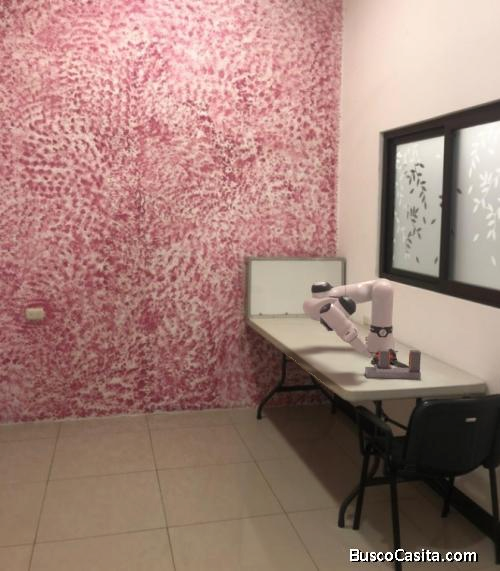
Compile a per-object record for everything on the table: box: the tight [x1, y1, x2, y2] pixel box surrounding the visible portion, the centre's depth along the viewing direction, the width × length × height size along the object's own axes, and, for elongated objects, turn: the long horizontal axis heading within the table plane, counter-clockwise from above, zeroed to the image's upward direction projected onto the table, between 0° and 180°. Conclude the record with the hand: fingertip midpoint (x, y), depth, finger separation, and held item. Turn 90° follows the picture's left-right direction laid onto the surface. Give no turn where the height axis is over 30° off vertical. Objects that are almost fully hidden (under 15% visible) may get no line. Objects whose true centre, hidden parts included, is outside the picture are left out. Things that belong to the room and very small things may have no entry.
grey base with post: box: [364, 349, 422, 380], centre depth 276 cm, size 8×24×12 cm, turn 86°
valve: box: [370, 349, 409, 368], centre depth 299 cm, size 6×26×15 cm
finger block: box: [378, 349, 391, 369], centre depth 277 cm, size 4×4×9 cm
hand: (368, 354), depth 276 cm, fingers open, 8 cm apart
